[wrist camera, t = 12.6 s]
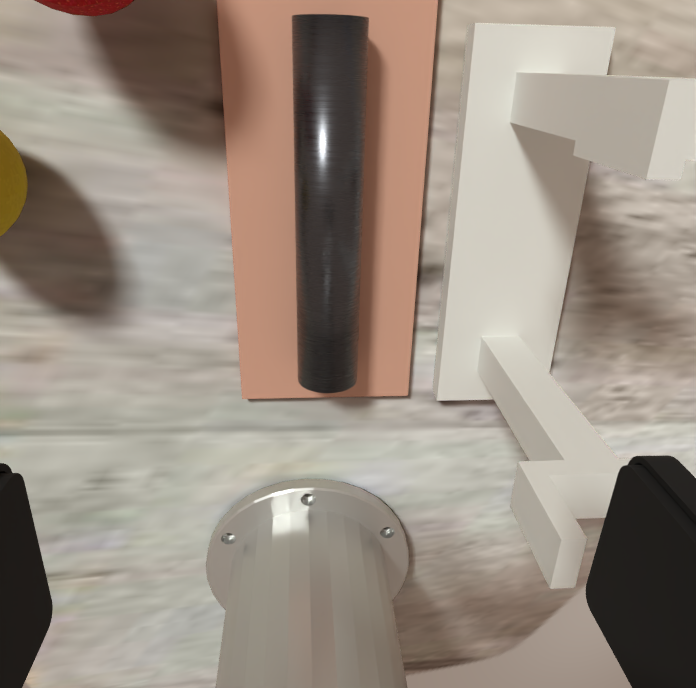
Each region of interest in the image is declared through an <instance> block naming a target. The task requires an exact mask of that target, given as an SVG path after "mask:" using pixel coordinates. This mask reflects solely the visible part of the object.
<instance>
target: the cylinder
mask: <svg viewBox="0 0 696 688" xmlns="http://www.w3.org/2000/svg"><path fill="white" fill-rule="evenodd" d="M368 33H369V18H368V17H363V16H354V15H337V14H300V15H293V16H292V64H293V124H294V184H295V244H296V304H297V364H298V382H299V384H300V385H301V386H302V387H304V388H305V389H307V390H310V391H313V392H318V393H338V392H342V391H345V390H348V389H350V388H351V387H353V386H354V385H355V384H356V382H357V368H358V338H359V307H360V277H361V246H362V216H363V185H364V155H365V125H366V94H367V64H368Z"/></svg>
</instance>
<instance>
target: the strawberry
mask: <svg viewBox="0 0 696 688" xmlns="http://www.w3.org/2000/svg"><path fill="white" fill-rule="evenodd" d="M35 1H37V2H39V3H41V4H43V5H45V6H47V7H50V8H52V9H55V10H59V11H62V12H66V13H69V14H73V15H84V16H98V15H105V14H111V13H114V12H116V11H118V10H120V9H123V8H125V7H127V6H128V5H130V4H131V3H132V2H133V1H134V0H35Z"/></svg>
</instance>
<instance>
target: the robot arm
mask: <svg viewBox="0 0 696 688" xmlns="http://www.w3.org/2000/svg"><path fill="white" fill-rule="evenodd" d="M408 567H409V549H408V545H407V541H406V536H405V533H404V530H403V528H402V526H401V524H400V521H399V520H398V518H397V517H396V516H395V514H394V513H393V512H392V510H391V509H390V508H389V507H388V506H387V505H386V504H384V503H383V502H382V501H381V500H380V499H378V498H377V497H376V496H374V495H372V494H370V493H368V492H367V491H365V490H363V489H361V488H358V487H355V486H352V485H349V484H346V483H344V482H338V481H332V480H326V479H299V480H292V481H286V482H281V483H278V484H274V485H271V486H268V487H265V488H262V489H260V490H258V491H256V492H254V493H252V494H250V495H248V496H246V497H245V498H244V499H242V500H241V501H240V502H238V503H237V504H236V505H234V506H233V507H232V508H231V509H230V510H229V511H228V512H227V513H226V514H225V515H224V516H223V518H222V519H221V520H220V521H219V523H218V525H217V527H216V528H215V530H214V532H213V534H212V537H211V540H210V544H209V548H208V554H207V561H206V572H207V580H208V583H209V585H210V588H211V590H212V593H213V595H214V596H215V598H216V599H217V600H218V602H219V603H220V605H221V606H222V607H223V608H224V609H225V610H226V612H225V620H224V627H223V635H222V642H221V650H220V658H219V665H218V673H217V680H216V688H407V684H406V677H405V672H404V666H403V660H402V654H401V649H400V643H399V637H398V632H397V626H396V620H395V614H394V609H393V603H392V601H393V599H394V598H395V597H396V595H397V594H398V593H399V592H400V590H401V588H402V586H403V583H404V581H405V579H406V576H407V572H408ZM586 599H587V603H588V606H589V608H590V611H591V613H592V614H593V616H594V618H595V620H596V622H597V624H598V625H599V627H600V629H601V631H602V633H603V635H604V636H605V638H606V640H607V642H608V644H609V646H610V647H611V649H612V651H613V653H614V655H615V657H616V658H617V660H618V662H619V664H620V666H621V668H622V670H623V671H624V673H625V675H626V677H627V679H628V681H629V682H630V684H631V686H632V688H696V478H695V477H694V476H693V475H692V474H691V473H690V472H689V471H688V470H687V469H686V468H685V467H684V466H683V465H682V464H681V463H680V462H679V461H678V460H677V459H675V458H674V457H672V456H636V457H633V458H632V459H631V460H630V461H629V463H628V465H625V466H622V467H621V468H620V470H619V472H618V476H617V479H616V483H615V486H614V490H613V493H612V497H611V500H610V504H609V507H608V511H607V514H606V518H605V521H604V525H603V528H602V532H601V535H600V539H599V542H598V546H597V549H596V553H595V556H594V560H593V563H592V567H591V570H590V574H589V577H588V581H587V584H586ZM51 618H52V599H51V595H50V591H49V586H48V582H47V578H46V574H45V569H44V565H43V561H42V556H41V552H40V548H39V543H38V539H37V535H36V531H35V526H34V522H33V518H32V513H31V509H30V505H29V500H28V496H27V492H26V488H25V483H24V480H23V477H22V476H21V475H20V474H18V473H12V471H11V469H10V467H9V466H8V465H6V464H4V463H0V688H22V686H23V684H24V682H25V680H26V678H27V675H28V673H29V671H30V669H31V667H32V664H33V662H34V660H35V658H36V655H37V653H38V651H39V649H40V647H41V644H42V642H43V640H44V638H45V635H46V633H47V631H48V628H49V626H50V622H51Z"/></svg>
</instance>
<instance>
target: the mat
mask: <svg viewBox="0 0 696 688" xmlns="http://www.w3.org/2000/svg"><path fill="white" fill-rule="evenodd" d="M437 7H438V0H217V14H218V29H219V45H220V61H221V76H222V92H223V107H224V123H225V139H226V154H227V170H228V185H229V201H230V217H231V232H232V248H233V263H234V279H235V295H236V310H237V326H238V342H239V357H240V373H241V388H242V399H264V398H314V397H364V396H408V387H409V374H410V361H411V347H412V334H413V321H414V308H415V295H416V282H417V269H418V256H419V243H420V230H421V217H422V203H423V190H424V177H425V164H426V151H427V138H428V125H429V112H430V99H431V86H432V73H433V59H434V46H435V33H436V20H437ZM300 14H337V15H354V16H363V17H368V18H369V33H368V64H367V94H366V125H365V155H364V185H363V216H362V246H361V277H360V307H359V338H358V368H357V382H356V384H355V385H354V386H353V387H351V388H350V389H348V390H345V391H342V392H338V393H318V392H313V391H310V390H307V389H305V388H304V387H302V386H301V385H300V384H299V382H298V364H297V304H296V244H295V184H294V124H293V64H292V16H293V15H300Z"/></svg>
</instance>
